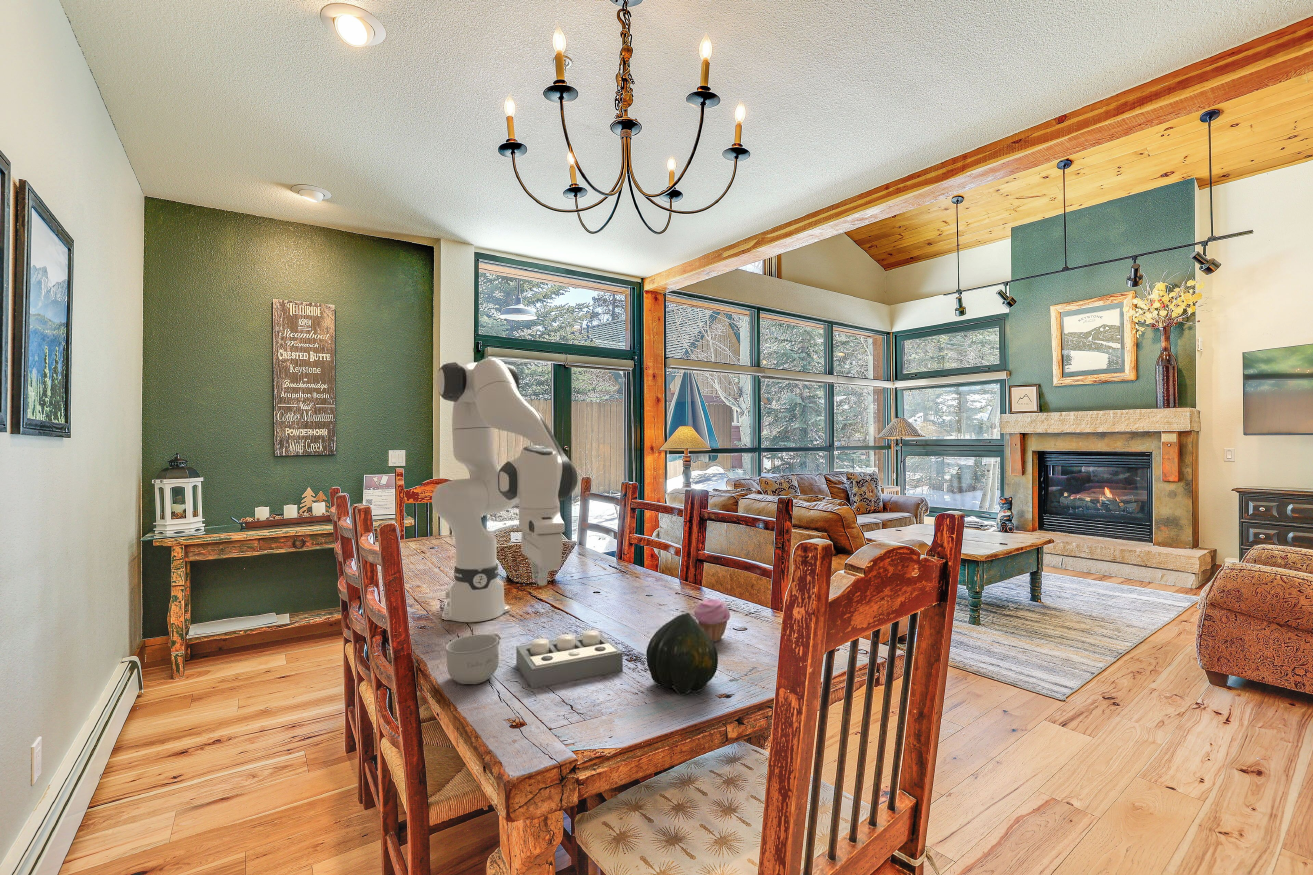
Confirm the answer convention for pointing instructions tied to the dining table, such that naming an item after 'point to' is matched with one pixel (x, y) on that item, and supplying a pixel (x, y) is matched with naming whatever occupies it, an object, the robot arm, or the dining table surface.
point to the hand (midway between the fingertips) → (539, 582)
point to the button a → (539, 647)
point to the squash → (682, 655)
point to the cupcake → (712, 617)
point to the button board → (568, 662)
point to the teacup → (473, 658)
